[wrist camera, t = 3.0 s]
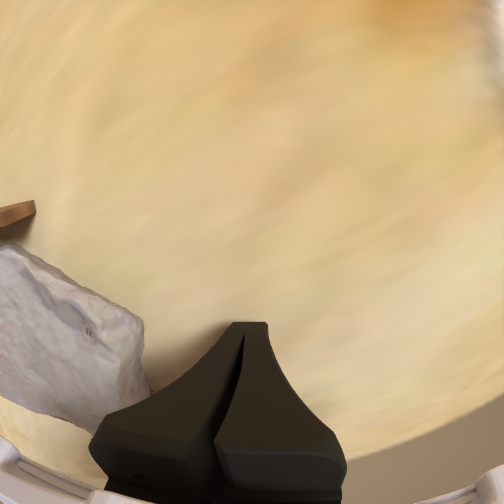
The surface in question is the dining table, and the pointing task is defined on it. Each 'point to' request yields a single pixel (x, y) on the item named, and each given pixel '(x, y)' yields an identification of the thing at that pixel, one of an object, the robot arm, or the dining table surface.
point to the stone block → (65, 344)
